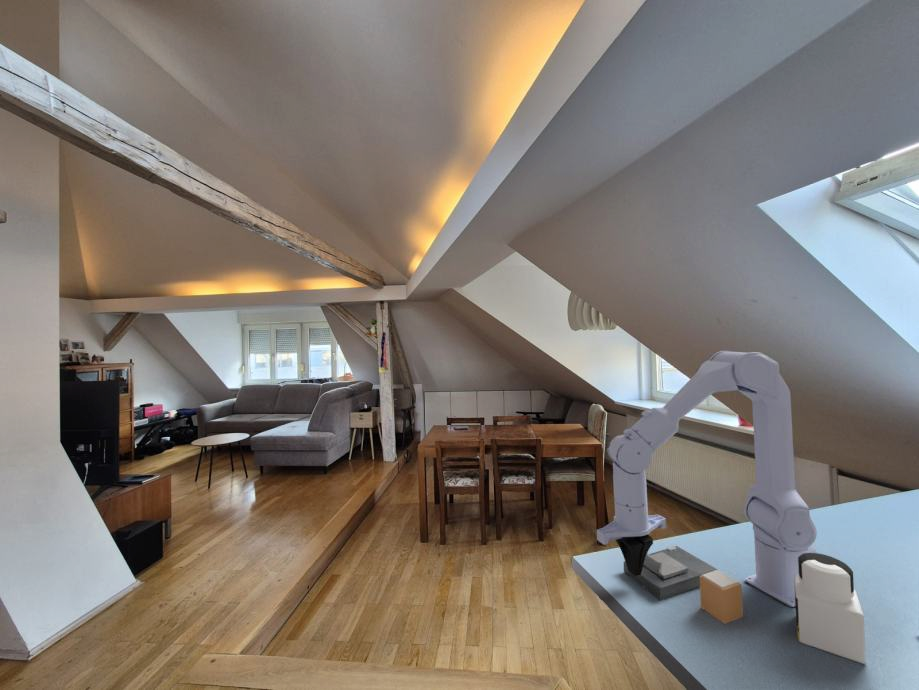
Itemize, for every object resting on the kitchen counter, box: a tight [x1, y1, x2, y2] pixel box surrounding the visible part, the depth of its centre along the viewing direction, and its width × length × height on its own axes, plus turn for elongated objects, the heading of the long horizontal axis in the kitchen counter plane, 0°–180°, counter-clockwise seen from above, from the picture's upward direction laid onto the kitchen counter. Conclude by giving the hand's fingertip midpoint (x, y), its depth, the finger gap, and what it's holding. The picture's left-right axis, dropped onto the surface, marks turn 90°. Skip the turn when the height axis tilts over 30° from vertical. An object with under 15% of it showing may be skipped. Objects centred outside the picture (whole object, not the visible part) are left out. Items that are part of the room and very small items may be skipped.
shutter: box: [643, 552, 688, 579], centre depth 74 cm, size 6×6×2 cm
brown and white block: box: [699, 569, 744, 625], centre depth 65 cm, size 4×4×6 cm
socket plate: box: [623, 545, 718, 601], centre depth 75 cm, size 14×9×2 cm, turn 108°
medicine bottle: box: [794, 552, 867, 665], centre depth 58 cm, size 7×7×12 cm
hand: (634, 572), depth 72 cm, fingers closed
